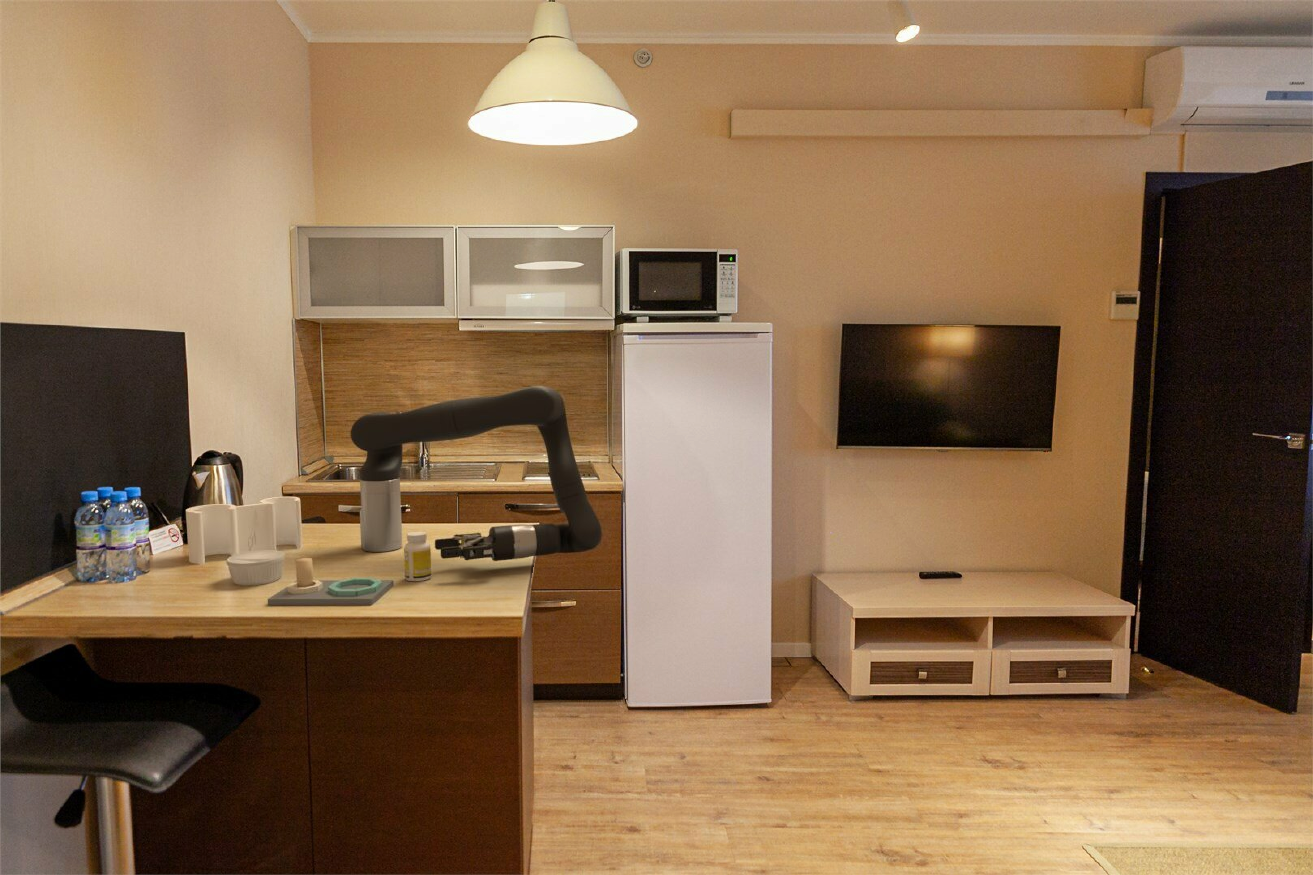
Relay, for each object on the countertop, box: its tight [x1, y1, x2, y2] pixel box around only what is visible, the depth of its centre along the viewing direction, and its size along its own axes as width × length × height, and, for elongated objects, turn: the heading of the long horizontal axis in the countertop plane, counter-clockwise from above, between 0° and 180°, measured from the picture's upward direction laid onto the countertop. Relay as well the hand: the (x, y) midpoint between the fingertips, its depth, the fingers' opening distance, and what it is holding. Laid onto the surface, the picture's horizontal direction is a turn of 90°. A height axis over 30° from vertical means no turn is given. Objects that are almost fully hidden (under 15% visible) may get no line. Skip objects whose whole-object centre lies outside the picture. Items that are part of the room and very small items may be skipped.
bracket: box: [185, 496, 303, 566], centre depth 203 cm, size 25×10×12 cm, turn 131°
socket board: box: [267, 557, 395, 606], centre depth 167 cm, size 20×13×7 cm, turn 90°
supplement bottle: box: [403, 531, 432, 582], centre depth 179 cm, size 5×5×10 cm
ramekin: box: [226, 550, 286, 587], centre depth 179 cm, size 11×11×5 cm
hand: (437, 548), depth 181 cm, fingers open, 8 cm apart
